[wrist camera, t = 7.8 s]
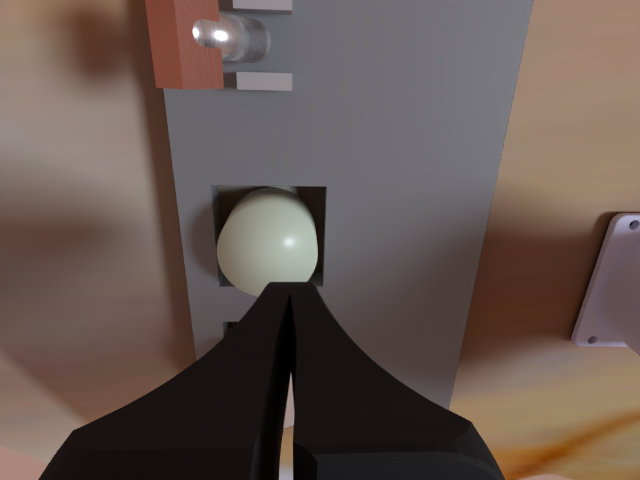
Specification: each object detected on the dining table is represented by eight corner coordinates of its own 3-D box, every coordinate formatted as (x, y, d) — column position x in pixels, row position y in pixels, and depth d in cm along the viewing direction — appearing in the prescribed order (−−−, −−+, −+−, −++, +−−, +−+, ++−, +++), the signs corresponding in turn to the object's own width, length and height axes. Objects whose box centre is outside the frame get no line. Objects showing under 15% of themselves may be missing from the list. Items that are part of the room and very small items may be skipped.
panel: (532, -93, 15) (575, -124, 12) (439, 394, 24) (453, 428, 22) (152, -114, 14) (123, -151, 12) (208, 398, 23) (199, 434, 21)
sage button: (316, 188, 18) (319, 207, 16) (314, 268, 20) (316, 297, 17) (225, 186, 18) (212, 206, 15) (230, 268, 20) (220, 297, 17)
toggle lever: (279, -7, 13) (173, -38, 10) (280, 87, 15) (185, 89, 11) (248, -4, 14) (138, -32, 11) (251, 86, 15) (153, 87, 12)
